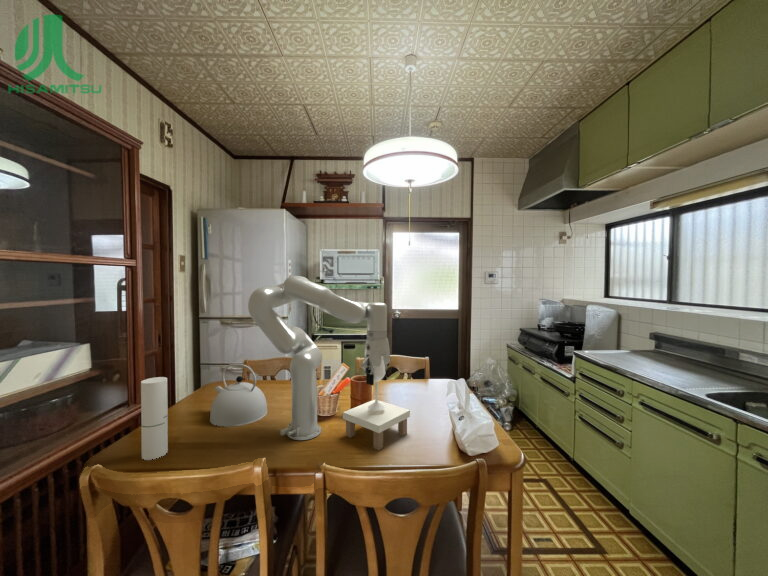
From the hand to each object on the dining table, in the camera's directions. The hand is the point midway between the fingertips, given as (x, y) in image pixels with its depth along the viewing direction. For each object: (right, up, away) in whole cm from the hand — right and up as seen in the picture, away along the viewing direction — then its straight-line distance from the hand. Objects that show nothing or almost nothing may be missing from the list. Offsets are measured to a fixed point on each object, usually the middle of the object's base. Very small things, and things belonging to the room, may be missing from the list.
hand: (376, 381), depth 122 cm
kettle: (-61, -20, +19) cm, 67 cm away
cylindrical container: (-74, -20, -14) cm, 78 cm away
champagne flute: (0, -10, 0) cm, 10 cm away
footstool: (0, -20, 0) cm, 20 cm away
